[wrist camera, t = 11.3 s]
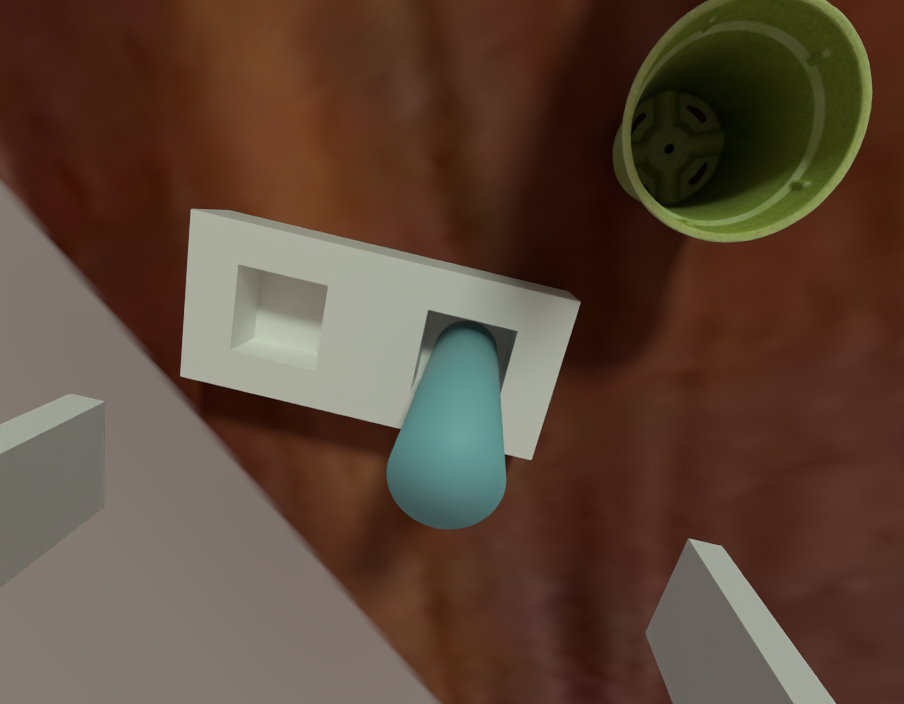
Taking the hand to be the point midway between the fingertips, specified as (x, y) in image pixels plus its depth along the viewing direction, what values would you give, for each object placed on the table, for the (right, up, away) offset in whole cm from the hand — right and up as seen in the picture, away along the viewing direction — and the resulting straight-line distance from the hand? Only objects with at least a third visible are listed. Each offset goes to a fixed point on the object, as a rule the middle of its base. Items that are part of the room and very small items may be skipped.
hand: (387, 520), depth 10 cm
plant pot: (+14, +15, +17) cm, 26 cm away
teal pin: (+2, +4, +19) cm, 20 cm away
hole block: (-3, +6, +20) cm, 21 cm away
